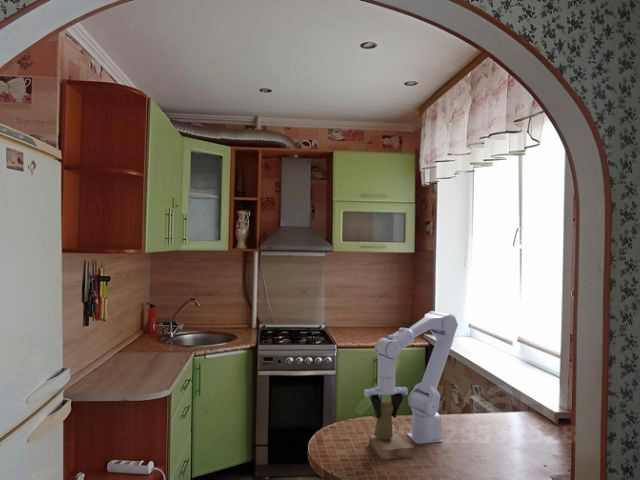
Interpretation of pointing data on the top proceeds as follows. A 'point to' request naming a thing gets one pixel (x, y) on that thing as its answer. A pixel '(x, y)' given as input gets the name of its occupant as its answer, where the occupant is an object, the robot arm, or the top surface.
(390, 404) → the cork
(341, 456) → the top surface
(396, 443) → the walnut block
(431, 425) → the robot arm
